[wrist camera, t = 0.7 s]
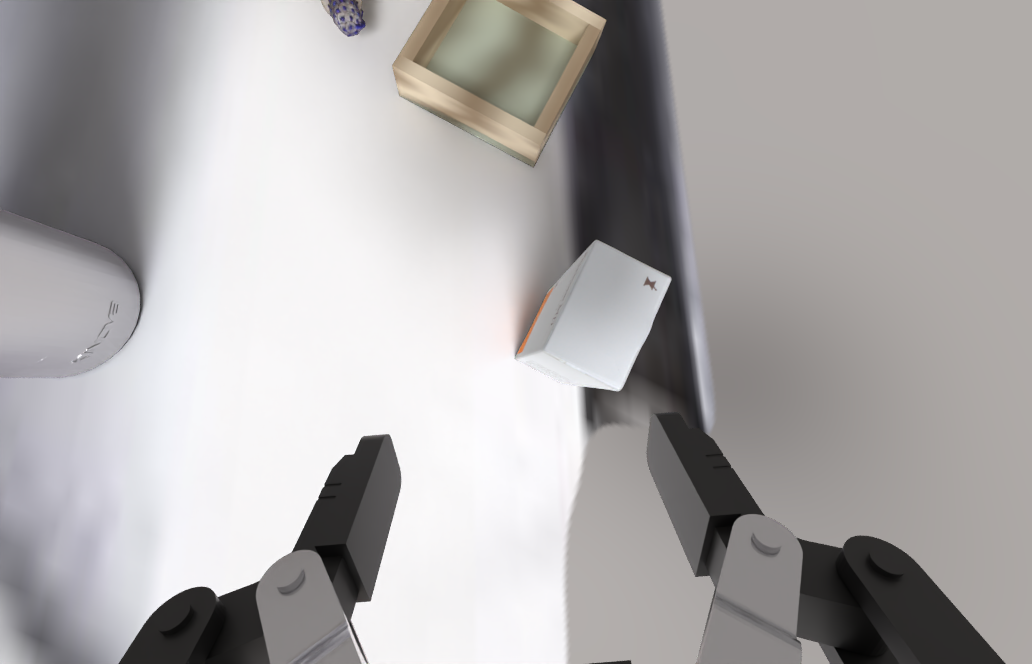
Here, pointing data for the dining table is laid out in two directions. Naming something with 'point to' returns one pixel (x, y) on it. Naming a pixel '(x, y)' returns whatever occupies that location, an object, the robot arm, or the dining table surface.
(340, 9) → the decorative bottle
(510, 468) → the dining table surface
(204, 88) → the dining table surface
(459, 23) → the pocket tray
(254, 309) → the dining table surface
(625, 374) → the skincare box
